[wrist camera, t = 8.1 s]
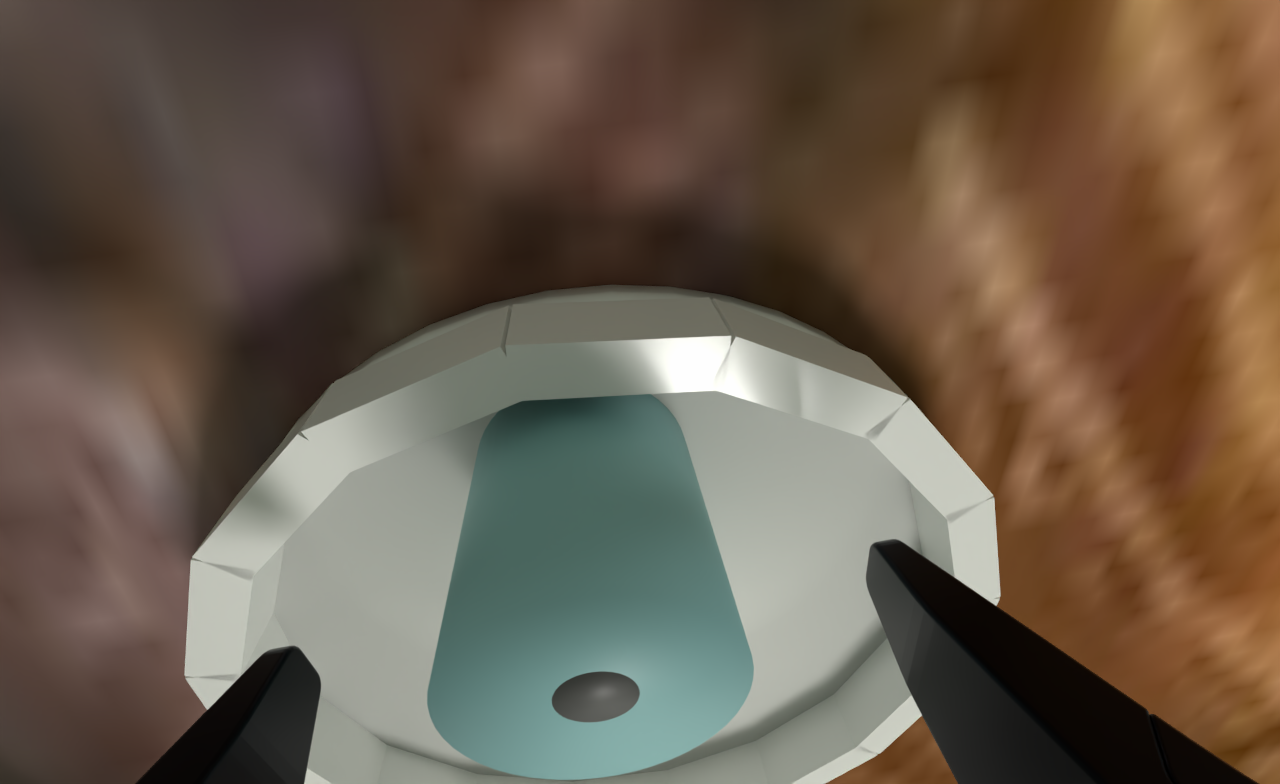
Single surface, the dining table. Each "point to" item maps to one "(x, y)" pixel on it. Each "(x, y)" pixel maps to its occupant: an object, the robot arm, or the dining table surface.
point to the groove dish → (730, 485)
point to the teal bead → (586, 597)
